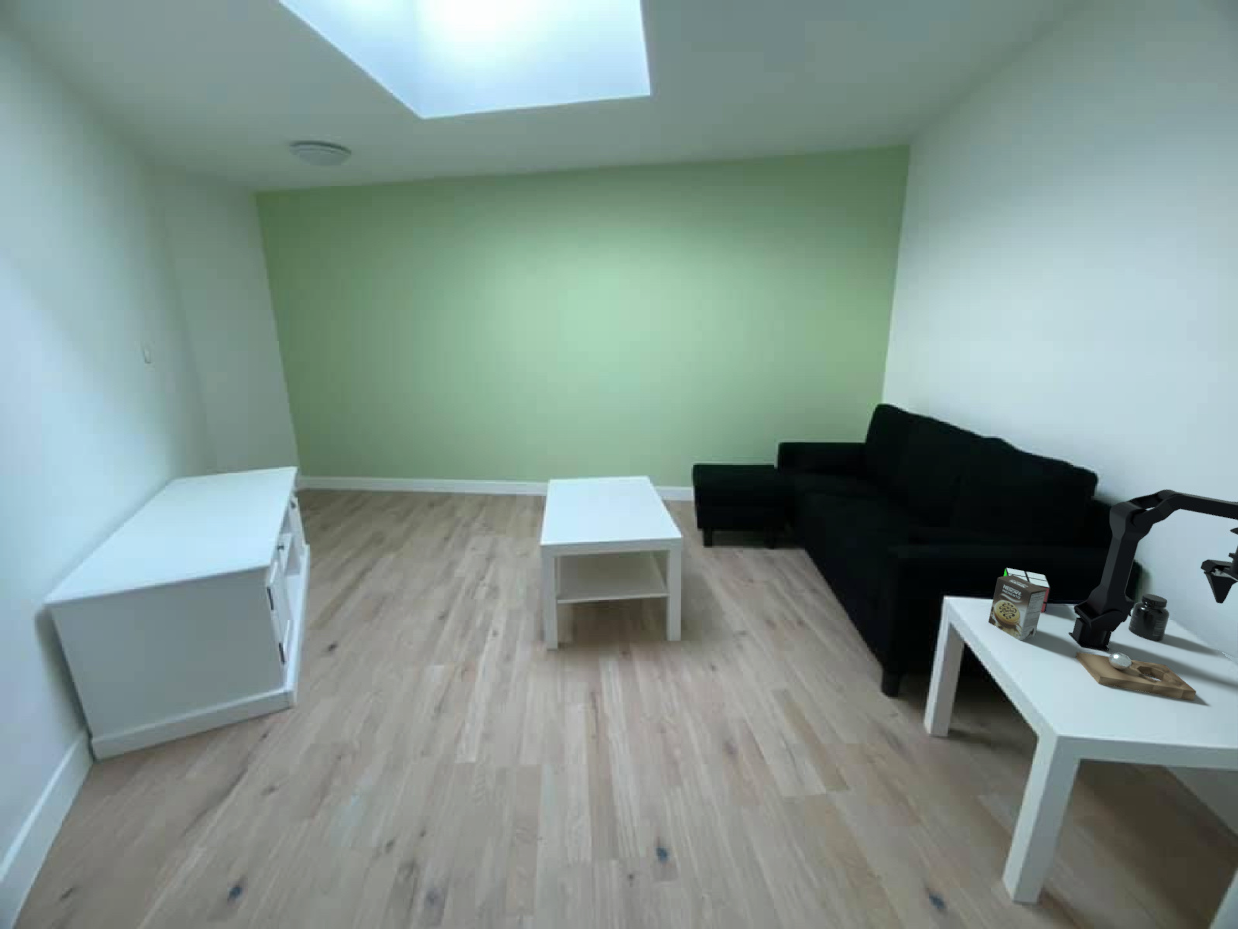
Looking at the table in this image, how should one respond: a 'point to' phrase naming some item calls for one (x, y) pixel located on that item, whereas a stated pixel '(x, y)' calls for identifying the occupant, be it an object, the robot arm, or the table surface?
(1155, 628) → the supplement bottle
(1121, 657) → the ball
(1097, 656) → the tan hexagonal hole board
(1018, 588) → the coffee box
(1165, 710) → the table surface
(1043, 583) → the puzzle cube
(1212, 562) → the robot arm
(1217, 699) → the table surface
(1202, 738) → the table surface
